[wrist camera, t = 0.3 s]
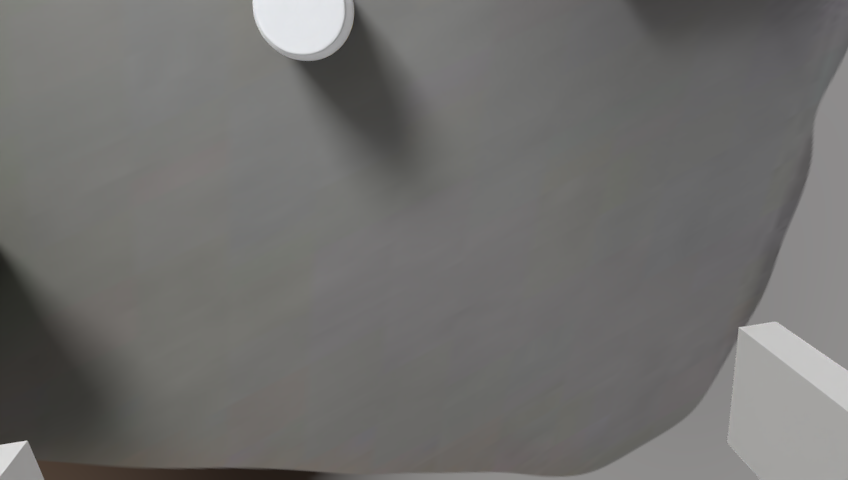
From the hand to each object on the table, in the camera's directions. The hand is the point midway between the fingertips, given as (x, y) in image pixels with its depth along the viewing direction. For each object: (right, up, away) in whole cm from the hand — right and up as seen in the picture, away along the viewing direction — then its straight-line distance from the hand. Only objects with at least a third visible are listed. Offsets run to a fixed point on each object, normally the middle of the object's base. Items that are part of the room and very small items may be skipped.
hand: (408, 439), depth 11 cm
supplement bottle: (-6, +17, +23) cm, 29 cm away
